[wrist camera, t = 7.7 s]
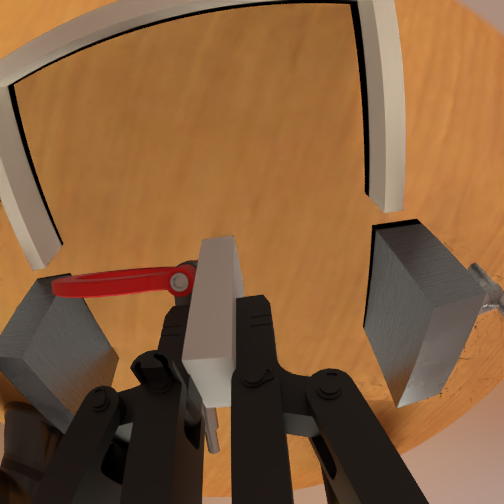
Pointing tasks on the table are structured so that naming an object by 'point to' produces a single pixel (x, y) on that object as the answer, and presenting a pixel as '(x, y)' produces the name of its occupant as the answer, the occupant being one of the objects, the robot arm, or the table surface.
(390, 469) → the robot arm
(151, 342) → the table surface
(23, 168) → the corral
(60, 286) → the tow hook
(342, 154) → the table surface
